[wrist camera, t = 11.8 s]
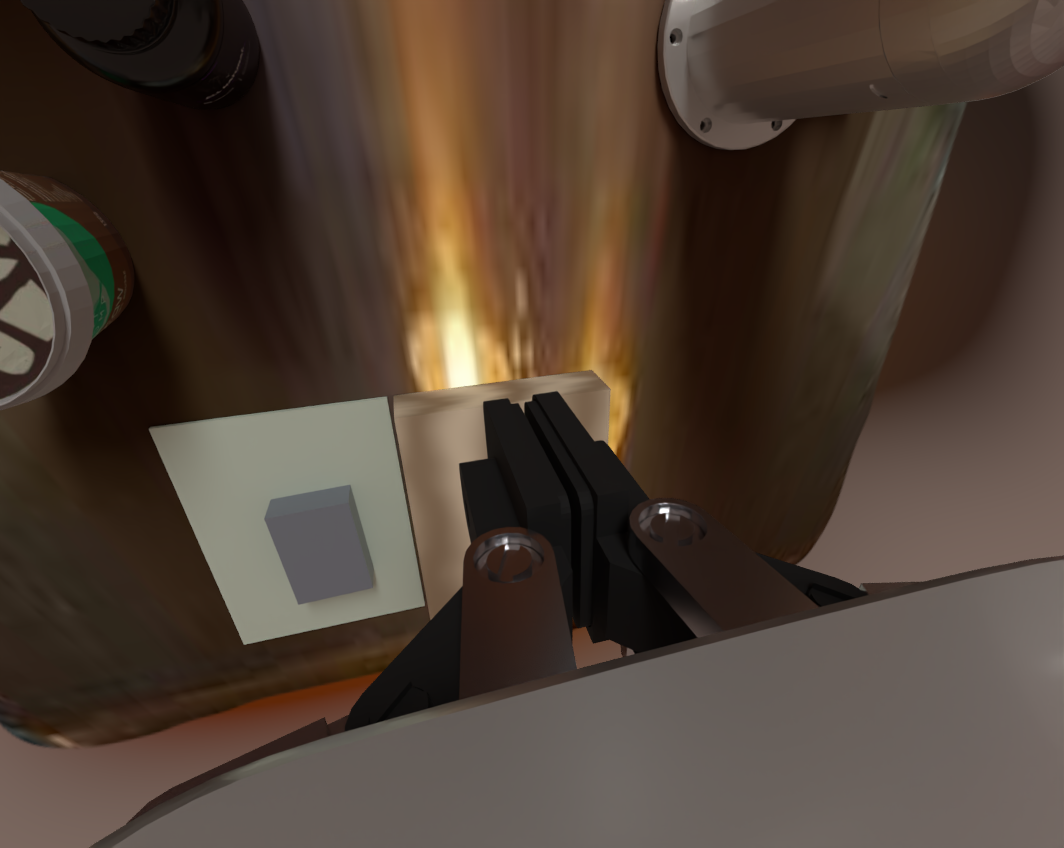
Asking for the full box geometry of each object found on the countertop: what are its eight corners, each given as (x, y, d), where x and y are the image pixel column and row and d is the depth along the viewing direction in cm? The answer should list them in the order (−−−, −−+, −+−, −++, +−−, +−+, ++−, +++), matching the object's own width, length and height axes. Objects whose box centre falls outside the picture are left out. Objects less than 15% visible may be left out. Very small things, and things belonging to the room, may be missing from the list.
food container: (128, 385, 34) (40, 463, 25) (10, 347, 31) (-133, 419, 22) (183, 210, 30) (102, 231, 21) (55, 150, 27) (-96, 146, 19)
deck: (591, 370, 42) (610, 389, 38) (586, 568, 52) (600, 597, 49) (393, 395, 38) (394, 418, 35) (429, 602, 49) (433, 635, 45)
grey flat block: (264, 518, 37) (270, 499, 39) (298, 604, 42) (302, 583, 44) (348, 502, 38) (350, 484, 41) (373, 587, 43) (373, 567, 45)
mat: (386, 396, 38) (386, 398, 38) (424, 603, 49) (424, 605, 48) (150, 426, 35) (148, 428, 35) (244, 641, 45) (243, 644, 45)
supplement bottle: (266, 123, 29) (200, 102, 19) (124, 95, 27) (-36, 55, 17) (259, -28, 26) (178, -149, 16) (101, -72, 24) (-110, -243, 14)
